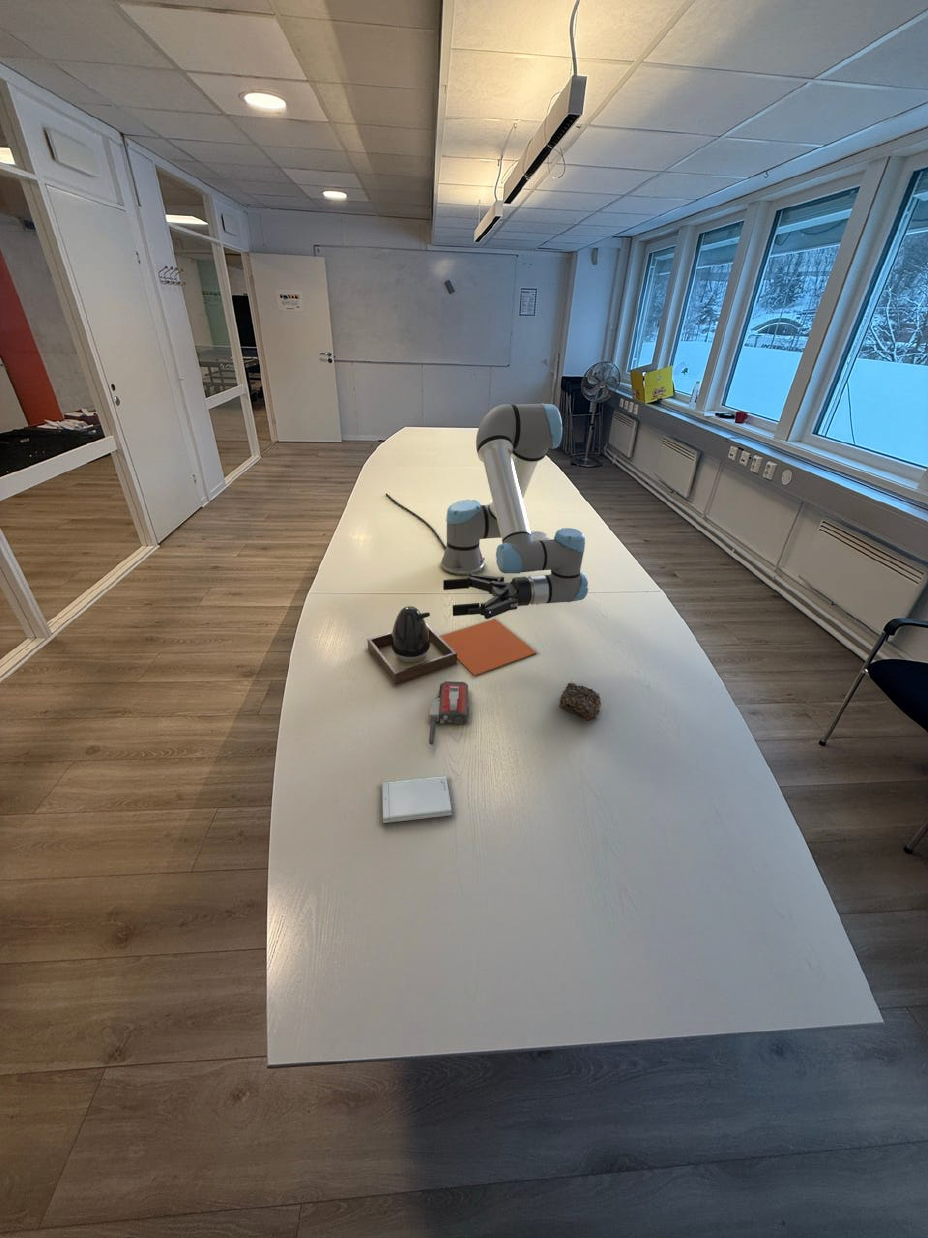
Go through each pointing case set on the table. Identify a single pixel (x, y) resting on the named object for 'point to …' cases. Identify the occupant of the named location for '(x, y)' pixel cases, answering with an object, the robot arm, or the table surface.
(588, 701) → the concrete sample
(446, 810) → the hard drive
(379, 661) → the brown wooden square frame
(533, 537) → the teacup
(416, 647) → the pump dispenser
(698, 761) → the table surface
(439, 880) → the table surface
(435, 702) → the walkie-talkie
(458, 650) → the mat
